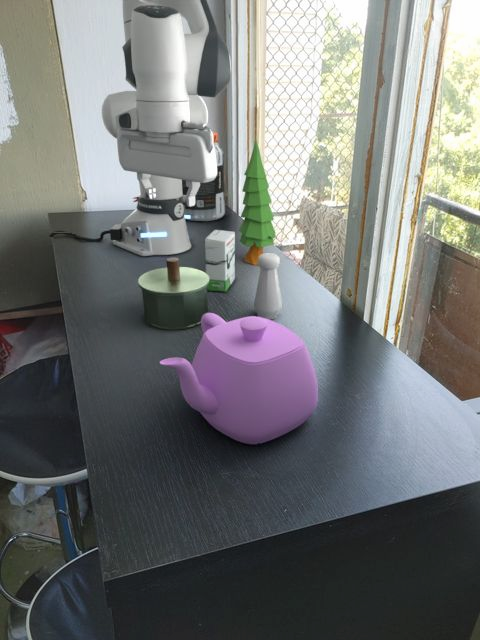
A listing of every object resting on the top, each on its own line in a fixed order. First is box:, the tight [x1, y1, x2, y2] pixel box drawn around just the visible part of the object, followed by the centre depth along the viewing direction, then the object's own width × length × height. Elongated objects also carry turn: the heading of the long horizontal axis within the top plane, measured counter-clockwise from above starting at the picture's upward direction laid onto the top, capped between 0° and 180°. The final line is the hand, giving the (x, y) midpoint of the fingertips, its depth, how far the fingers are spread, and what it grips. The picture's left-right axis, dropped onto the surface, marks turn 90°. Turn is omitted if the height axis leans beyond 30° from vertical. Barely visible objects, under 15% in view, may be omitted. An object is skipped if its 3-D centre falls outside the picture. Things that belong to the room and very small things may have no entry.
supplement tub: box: [182, 131, 226, 222], centre depth 168 cm, size 16×16×26 cm
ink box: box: [204, 229, 236, 293], centre depth 119 cm, size 9×5×12 cm, turn 168°
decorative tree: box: [238, 138, 277, 266], centre depth 129 cm, size 10×9×30 cm
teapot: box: [159, 312, 319, 445], centre depth 74 cm, size 23×21×15 cm
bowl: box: [141, 286, 209, 331], centre depth 105 cm, size 13×13×8 cm
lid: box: [137, 257, 209, 296], centre depth 102 cm, size 14×14×5 cm
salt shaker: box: [253, 252, 283, 320], centre depth 104 cm, size 6×6×13 cm
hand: (169, 201), depth 95 cm, fingers open, 8 cm apart
